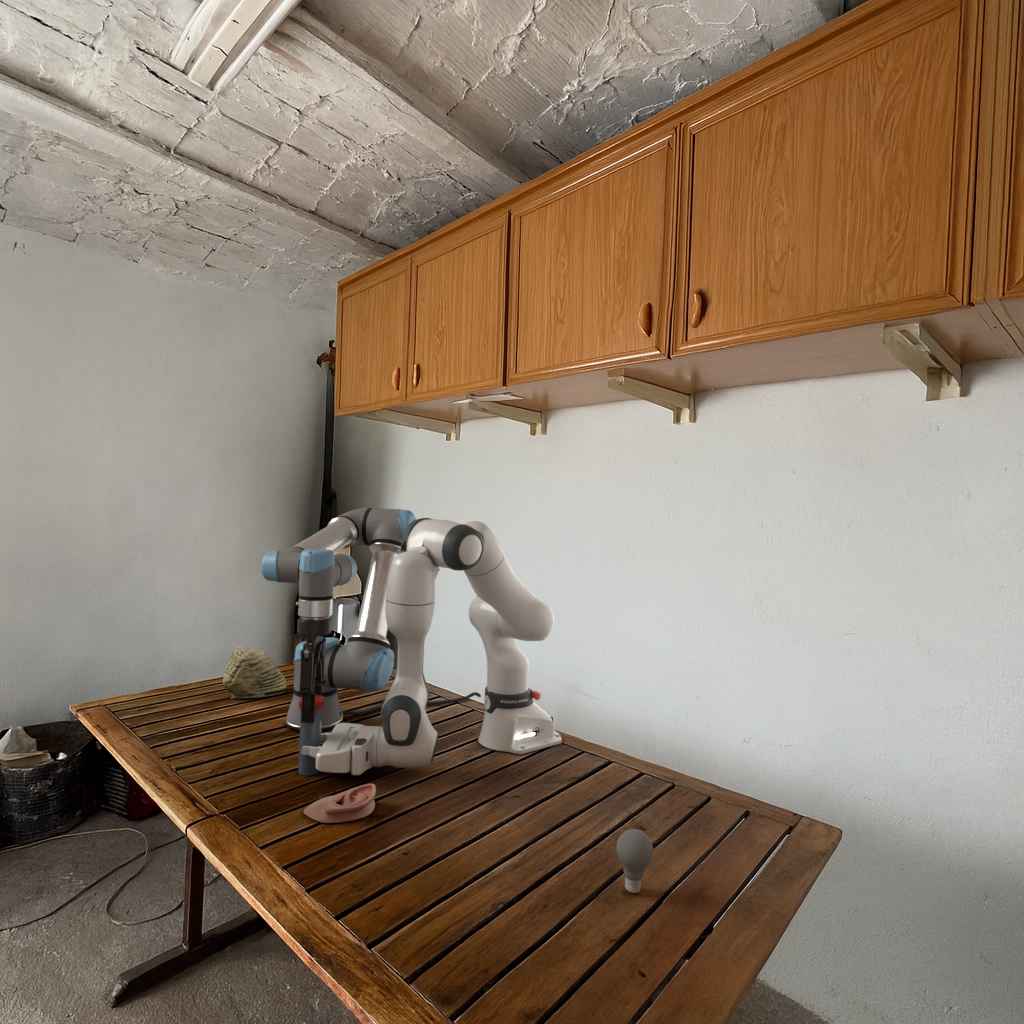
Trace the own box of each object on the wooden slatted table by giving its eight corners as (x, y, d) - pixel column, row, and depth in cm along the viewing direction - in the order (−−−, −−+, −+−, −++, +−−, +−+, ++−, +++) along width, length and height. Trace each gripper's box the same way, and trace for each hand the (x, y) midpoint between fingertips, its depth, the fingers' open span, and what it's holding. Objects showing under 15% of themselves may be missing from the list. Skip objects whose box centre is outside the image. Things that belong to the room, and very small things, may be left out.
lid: (297, 703, 147) (298, 695, 147) (322, 701, 149) (323, 693, 149) (299, 711, 142) (300, 703, 142) (325, 709, 144) (326, 701, 144)
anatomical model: (295, 798, 124) (324, 774, 135) (295, 818, 124) (324, 792, 135) (358, 808, 121) (383, 782, 132) (358, 828, 121) (382, 801, 133)
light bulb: (610, 879, 108) (613, 822, 108) (644, 879, 109) (647, 822, 109) (619, 902, 102) (622, 840, 102) (655, 901, 103) (658, 840, 103)
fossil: (218, 695, 195) (220, 647, 195) (278, 685, 208) (279, 640, 207) (228, 703, 189) (230, 653, 188) (289, 692, 201) (290, 645, 201)
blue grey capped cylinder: (297, 768, 147) (300, 698, 147) (318, 765, 149) (321, 696, 149) (299, 776, 143) (301, 704, 142) (320, 774, 144) (323, 702, 144)
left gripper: (308, 609, 154) (305, 704, 154) (286, 624, 136) (282, 731, 136) (340, 610, 154) (336, 704, 155) (322, 625, 136) (317, 732, 137)
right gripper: (375, 717, 156) (318, 715, 156) (358, 749, 136) (293, 747, 135) (374, 742, 157) (317, 740, 156) (357, 778, 136) (292, 777, 136)
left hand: (311, 717), depth 145 cm, fingers closed on lid, 5 cm apart
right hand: (306, 744), depth 146 cm, fingers closed on blue grey capped cylinder, 5 cm apart
